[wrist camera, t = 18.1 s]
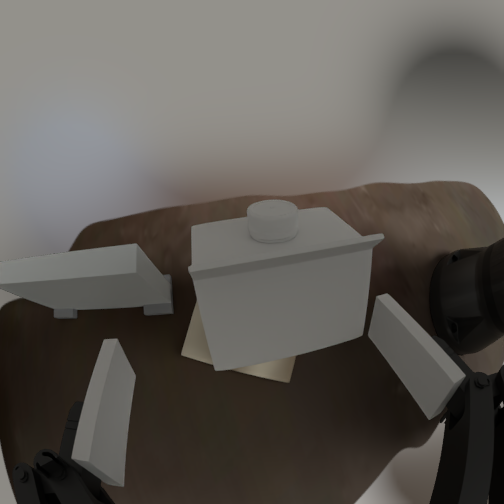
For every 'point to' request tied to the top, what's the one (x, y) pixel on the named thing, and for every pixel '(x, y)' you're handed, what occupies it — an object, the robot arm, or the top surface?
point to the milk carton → (279, 282)
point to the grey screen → (90, 281)
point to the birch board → (273, 370)
